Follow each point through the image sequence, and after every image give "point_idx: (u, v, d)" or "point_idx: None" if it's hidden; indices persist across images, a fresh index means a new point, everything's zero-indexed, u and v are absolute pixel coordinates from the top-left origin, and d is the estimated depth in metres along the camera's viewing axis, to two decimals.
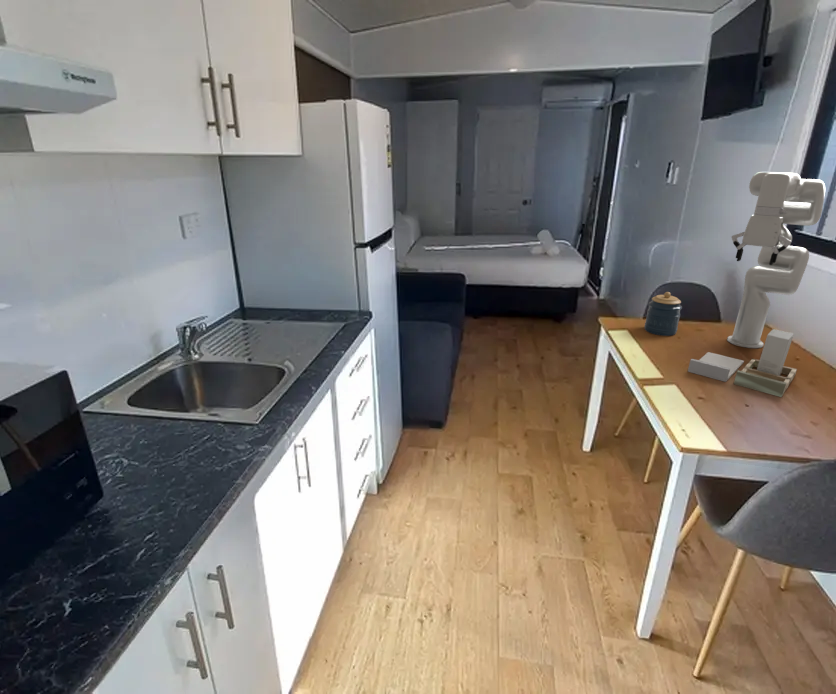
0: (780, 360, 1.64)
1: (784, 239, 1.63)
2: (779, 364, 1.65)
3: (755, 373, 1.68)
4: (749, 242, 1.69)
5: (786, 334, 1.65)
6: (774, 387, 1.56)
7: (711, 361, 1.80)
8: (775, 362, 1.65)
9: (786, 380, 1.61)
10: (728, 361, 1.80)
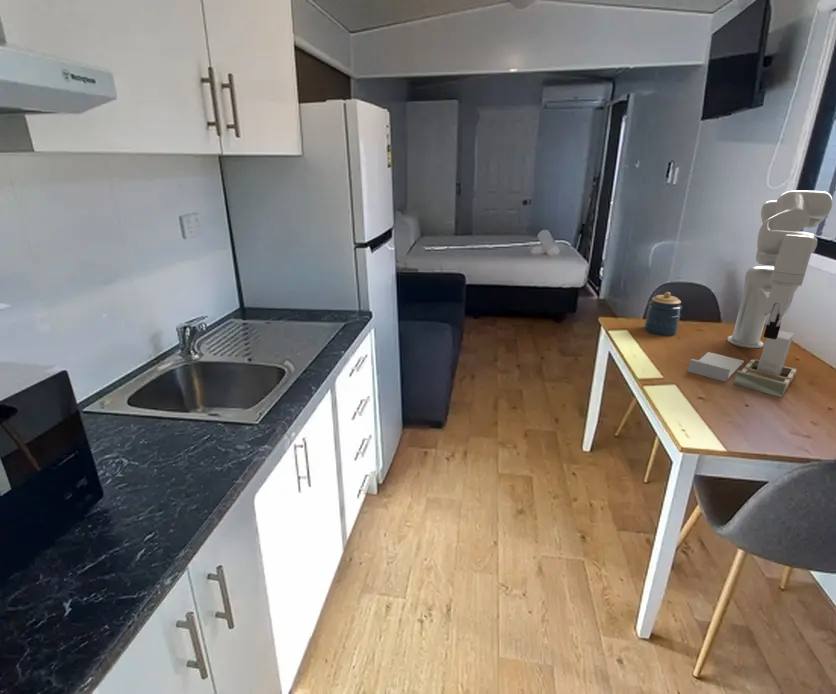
0: (780, 360, 1.64)
1: None
2: (779, 364, 1.65)
3: (755, 373, 1.68)
4: (784, 315, 1.42)
5: (786, 334, 1.65)
6: (774, 387, 1.56)
7: (711, 361, 1.80)
8: (775, 362, 1.65)
9: (786, 380, 1.61)
10: (728, 361, 1.80)
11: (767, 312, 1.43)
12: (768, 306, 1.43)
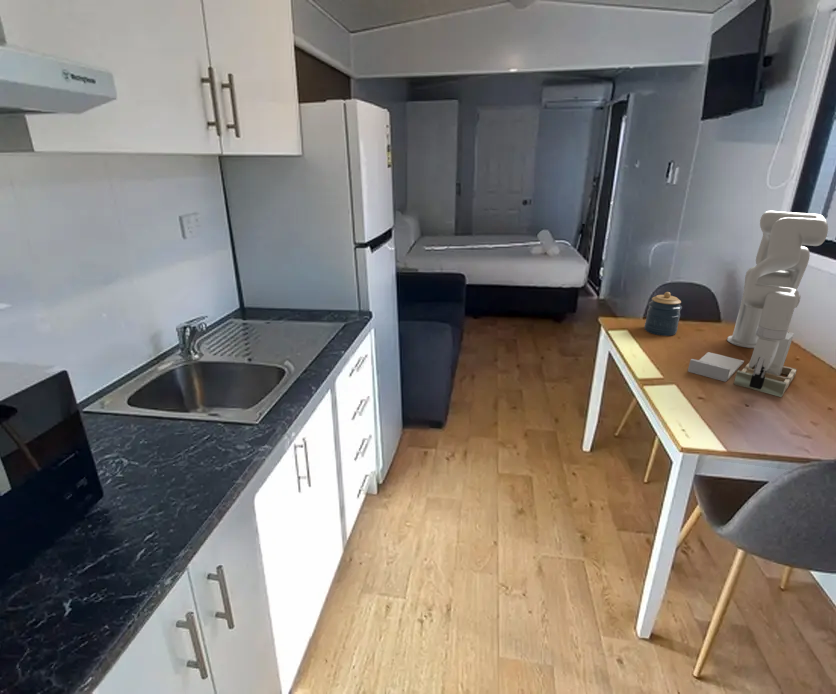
0: (780, 360, 1.64)
1: None
2: (779, 364, 1.65)
3: None
4: (768, 368, 1.49)
5: None
6: (774, 387, 1.56)
7: (711, 361, 1.80)
8: (775, 362, 1.65)
9: (786, 380, 1.61)
10: (728, 361, 1.80)
11: (752, 365, 1.49)
12: (753, 359, 1.49)
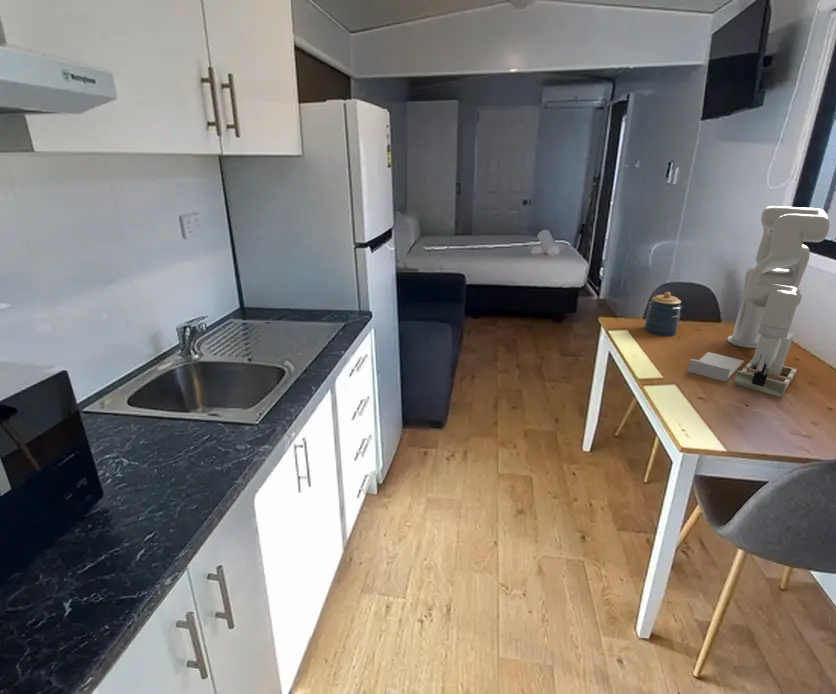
0: (780, 360, 1.64)
1: None
2: (779, 364, 1.65)
3: None
4: (770, 365, 1.51)
5: None
6: (774, 386, 1.56)
7: (711, 361, 1.80)
8: (775, 362, 1.65)
9: (786, 380, 1.61)
10: (728, 361, 1.80)
11: (754, 362, 1.52)
12: (755, 357, 1.51)
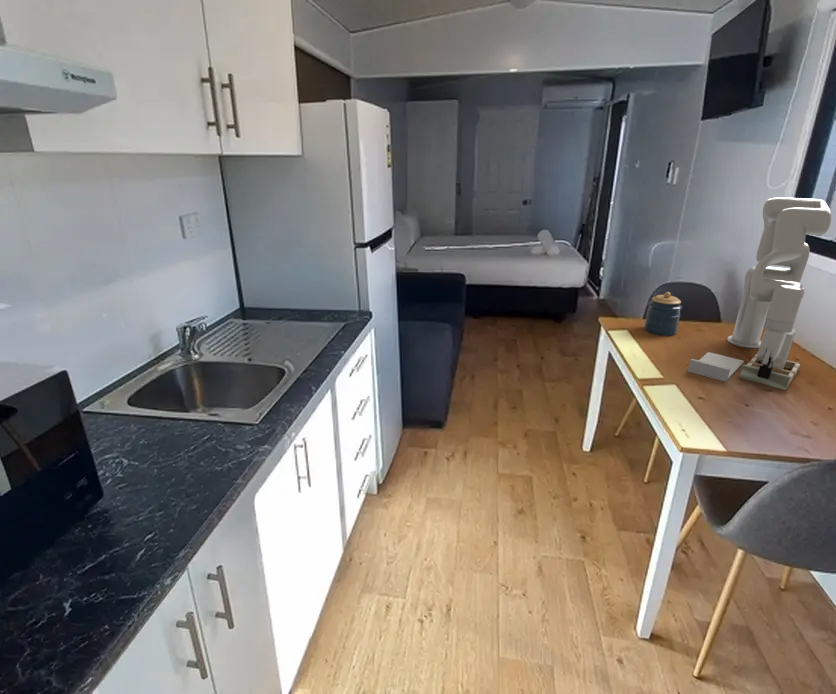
0: (784, 354, 1.68)
1: None
2: (783, 359, 1.69)
3: None
4: (775, 358, 1.56)
5: None
6: (778, 380, 1.61)
7: (711, 361, 1.80)
8: (779, 357, 1.69)
9: (790, 374, 1.66)
10: (728, 361, 1.80)
11: (760, 355, 1.57)
12: (761, 350, 1.56)
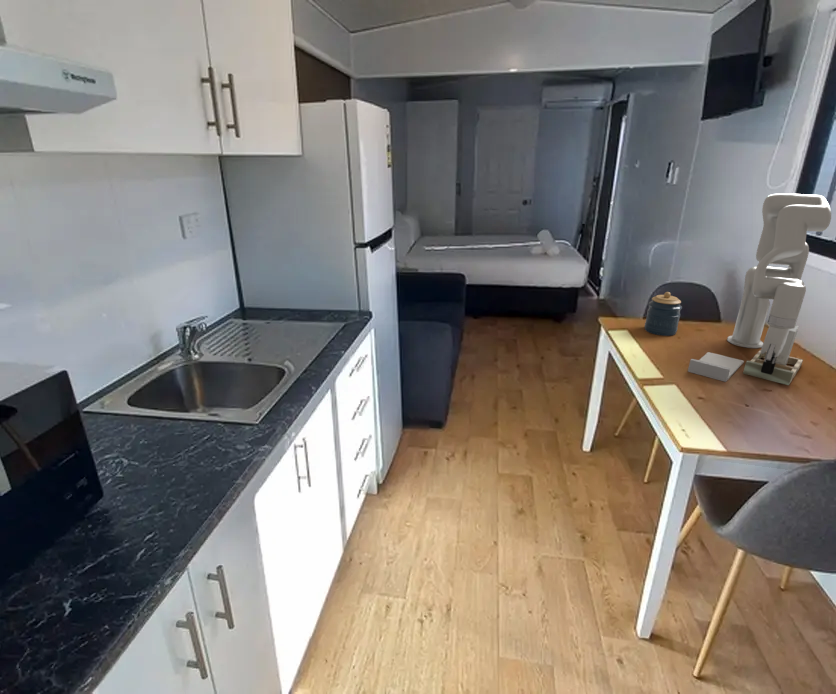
0: (787, 351, 1.72)
1: None
2: (786, 355, 1.72)
3: None
4: None
5: None
6: (782, 375, 1.64)
7: (711, 361, 1.80)
8: (782, 353, 1.73)
9: (793, 369, 1.69)
10: (728, 361, 1.80)
11: (764, 351, 1.60)
12: (764, 346, 1.59)
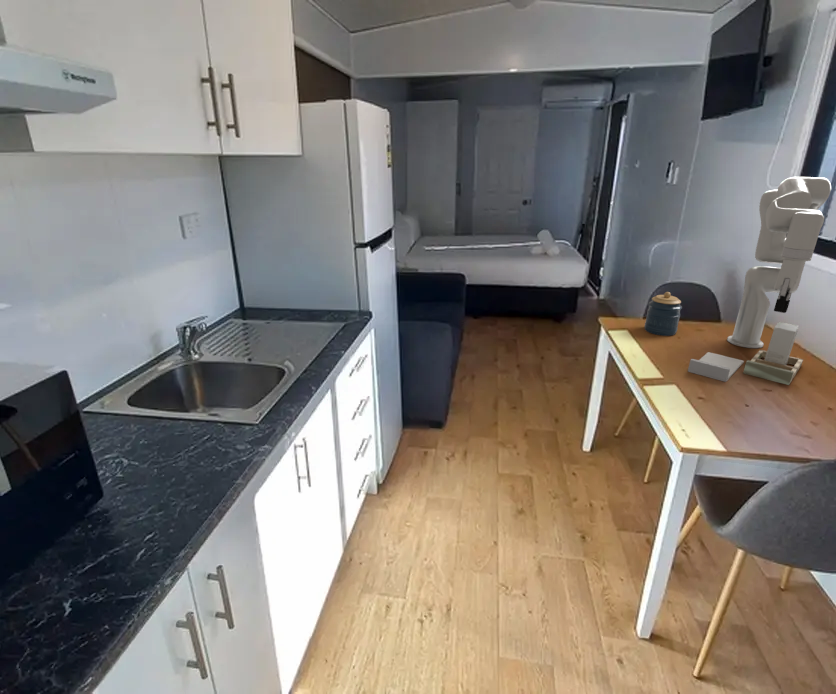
0: (787, 351, 1.72)
1: None
2: (786, 355, 1.72)
3: (763, 363, 1.77)
4: (793, 289, 1.50)
5: (792, 326, 1.73)
6: (782, 375, 1.64)
7: (711, 361, 1.80)
8: (782, 353, 1.73)
9: (793, 369, 1.69)
10: (728, 361, 1.80)
11: (778, 287, 1.50)
12: (779, 281, 1.50)
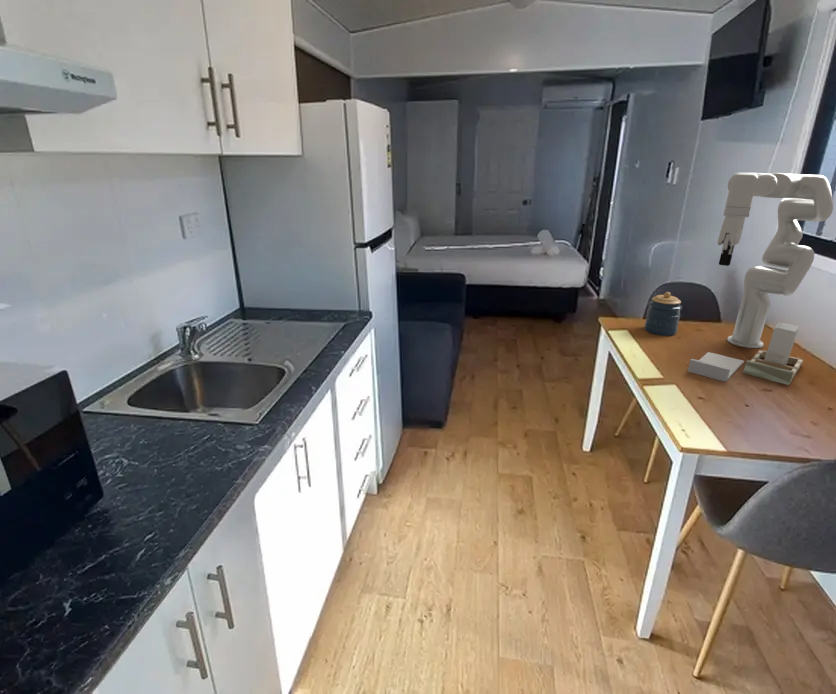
0: (787, 351, 1.72)
1: None
2: (786, 355, 1.72)
3: (763, 363, 1.77)
4: (734, 243, 1.69)
5: (792, 326, 1.73)
6: (782, 375, 1.64)
7: (711, 361, 1.80)
8: (782, 353, 1.73)
9: (793, 369, 1.69)
10: (728, 361, 1.80)
11: (720, 241, 1.69)
12: (721, 236, 1.69)
